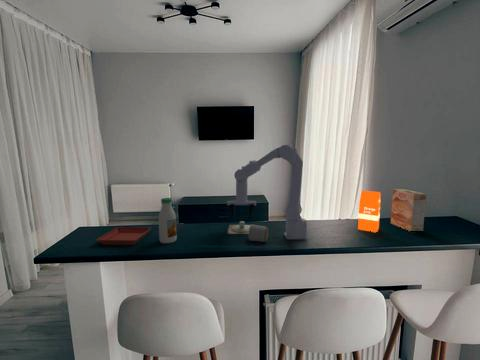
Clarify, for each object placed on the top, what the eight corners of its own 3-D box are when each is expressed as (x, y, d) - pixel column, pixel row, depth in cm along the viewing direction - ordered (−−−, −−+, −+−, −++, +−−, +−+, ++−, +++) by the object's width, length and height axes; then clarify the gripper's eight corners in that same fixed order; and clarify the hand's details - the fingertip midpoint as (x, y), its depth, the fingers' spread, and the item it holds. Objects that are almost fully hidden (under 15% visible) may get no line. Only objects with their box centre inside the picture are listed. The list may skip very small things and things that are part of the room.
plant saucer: (117, 232, 130) (117, 226, 130) (152, 233, 129) (151, 227, 128) (96, 246, 112) (95, 239, 112) (135, 247, 111) (135, 240, 111)
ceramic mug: (266, 245, 112) (266, 228, 111) (248, 243, 114) (248, 226, 113) (269, 237, 122) (269, 221, 121) (253, 235, 124) (253, 220, 123)
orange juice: (360, 225, 138) (362, 189, 135) (378, 228, 133) (381, 191, 130) (357, 229, 132) (359, 191, 129) (376, 232, 126) (379, 193, 124)
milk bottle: (161, 245, 113) (159, 201, 110) (158, 239, 119) (156, 197, 117) (178, 241, 116) (176, 199, 113) (174, 236, 123) (172, 196, 120)
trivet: (255, 226, 137) (255, 224, 137) (255, 235, 123) (256, 233, 123) (229, 226, 138) (229, 224, 137) (227, 235, 124) (227, 233, 124)
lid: (253, 225, 136) (253, 218, 135) (253, 232, 124) (253, 225, 124) (231, 225, 136) (231, 218, 136) (229, 232, 125) (229, 225, 124)
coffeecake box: (389, 223, 141) (392, 188, 139) (401, 222, 142) (404, 188, 140) (410, 232, 127) (413, 194, 124) (423, 231, 127) (427, 193, 125)
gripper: (255, 191, 131) (255, 216, 133) (228, 191, 132) (228, 216, 134) (256, 193, 124) (256, 220, 126) (226, 193, 125) (227, 220, 127)
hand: (241, 218), depth 130 cm, fingers open, 7 cm apart
